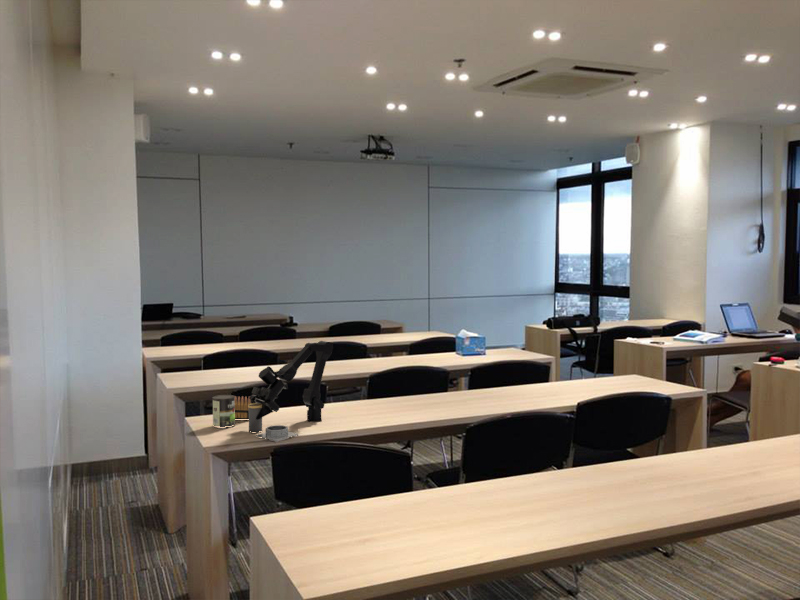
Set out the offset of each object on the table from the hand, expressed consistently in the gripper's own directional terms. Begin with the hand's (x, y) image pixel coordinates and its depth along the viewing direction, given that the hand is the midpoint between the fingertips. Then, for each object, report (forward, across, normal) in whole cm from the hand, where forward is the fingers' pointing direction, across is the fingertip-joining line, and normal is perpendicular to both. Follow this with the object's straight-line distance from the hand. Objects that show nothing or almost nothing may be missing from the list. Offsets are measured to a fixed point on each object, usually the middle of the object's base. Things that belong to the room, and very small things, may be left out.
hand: (252, 417), depth 304 cm
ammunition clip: (0, -25, +10) cm, 27 cm away
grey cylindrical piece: (+4, 0, +6) cm, 7 cm away
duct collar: (+2, +14, +8) cm, 16 cm away
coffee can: (+8, -19, +2) cm, 21 cm away
